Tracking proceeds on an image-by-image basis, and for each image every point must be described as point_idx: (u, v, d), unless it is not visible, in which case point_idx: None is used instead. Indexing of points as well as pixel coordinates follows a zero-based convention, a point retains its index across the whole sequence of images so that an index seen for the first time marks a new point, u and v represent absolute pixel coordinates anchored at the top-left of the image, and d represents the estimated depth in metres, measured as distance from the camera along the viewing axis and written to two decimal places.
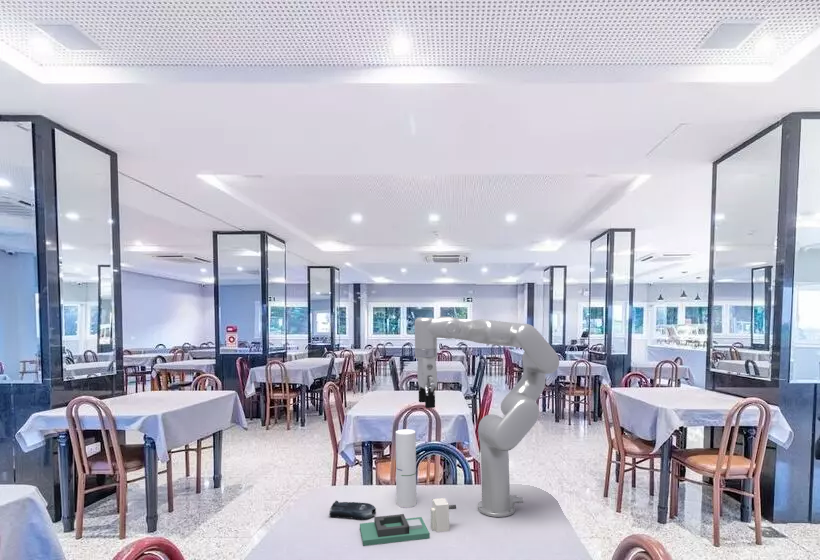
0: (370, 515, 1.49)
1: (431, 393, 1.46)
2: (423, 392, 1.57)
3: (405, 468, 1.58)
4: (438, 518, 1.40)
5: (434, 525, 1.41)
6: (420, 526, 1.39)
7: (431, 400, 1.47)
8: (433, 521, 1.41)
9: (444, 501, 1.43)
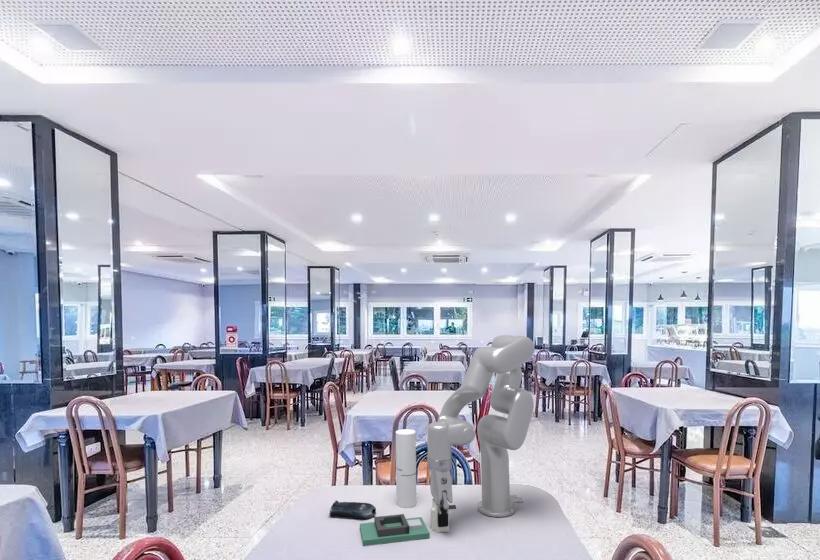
0: (370, 515, 1.49)
1: (444, 512, 1.38)
2: None
3: (405, 468, 1.58)
4: None
5: (434, 525, 1.41)
6: (420, 526, 1.39)
7: (444, 519, 1.39)
8: (433, 521, 1.41)
9: None
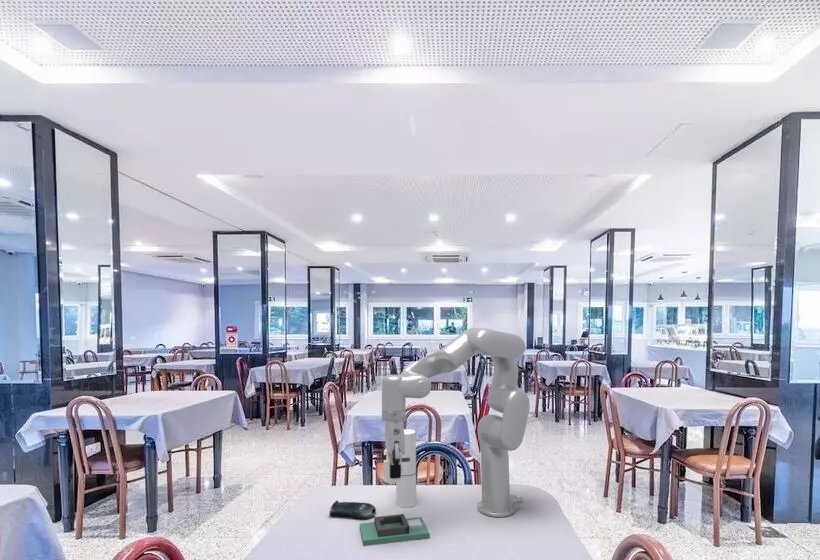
0: (370, 515, 1.49)
1: (396, 463, 1.36)
2: None
3: (405, 468, 1.58)
4: None
5: (386, 477, 1.39)
6: (420, 526, 1.39)
7: (396, 470, 1.37)
8: (386, 472, 1.39)
9: None
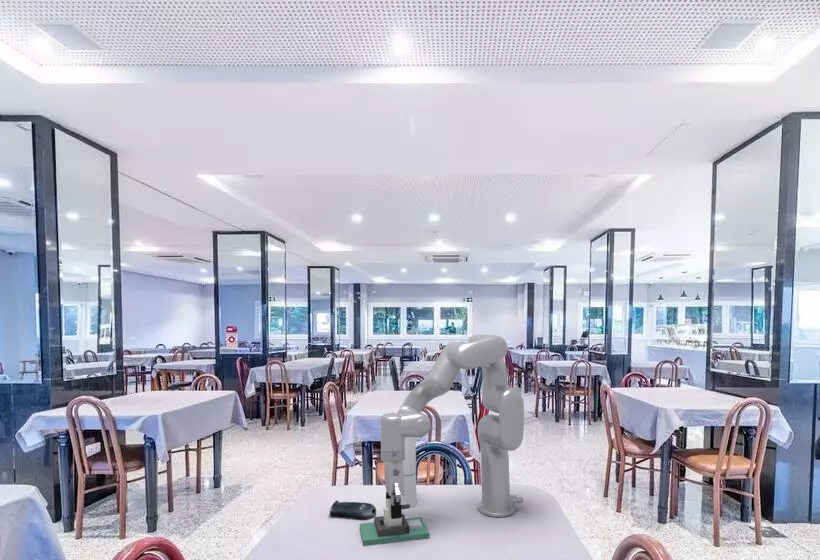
0: (370, 515, 1.49)
1: (397, 503, 1.33)
2: None
3: (405, 468, 1.58)
4: (390, 518, 1.37)
5: (387, 525, 1.38)
6: (420, 526, 1.39)
7: (397, 510, 1.34)
8: (386, 521, 1.38)
9: None
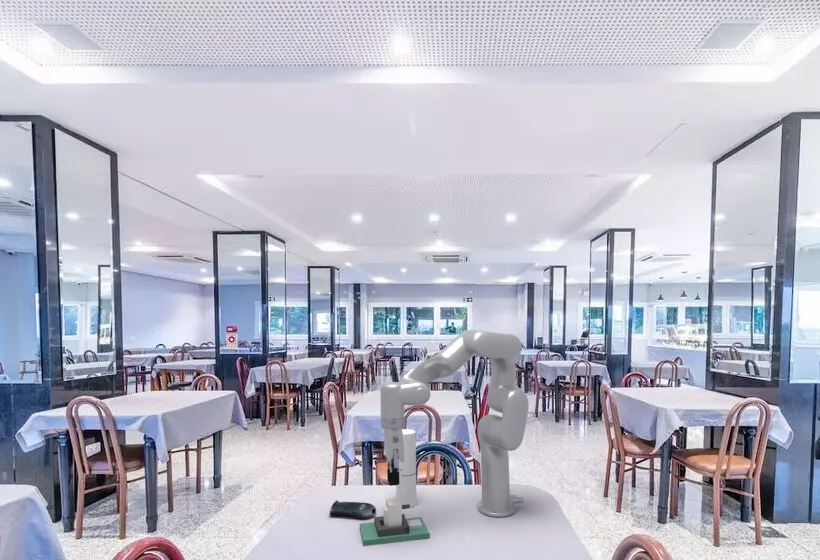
0: (370, 515, 1.49)
1: (395, 470, 1.37)
2: None
3: (405, 468, 1.58)
4: (390, 518, 1.37)
5: (387, 525, 1.38)
6: (420, 526, 1.39)
7: (395, 477, 1.38)
8: (386, 521, 1.38)
9: (397, 501, 1.40)
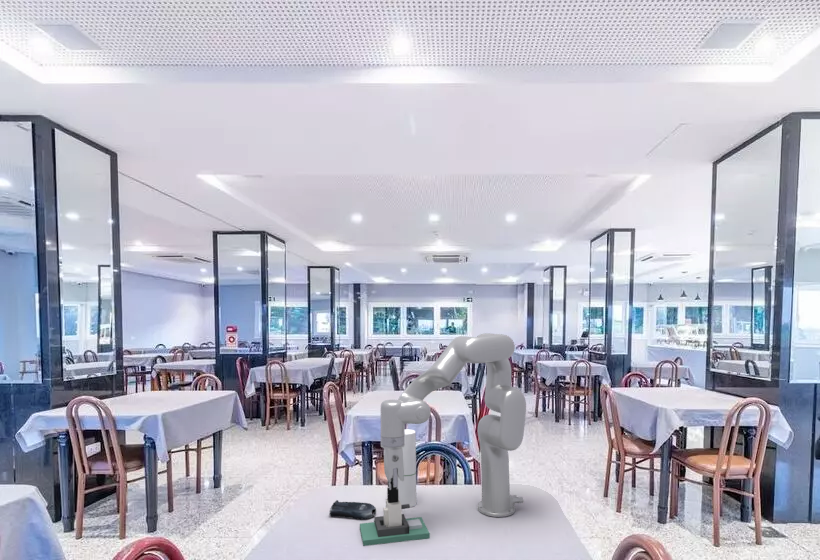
0: (370, 515, 1.49)
1: (394, 488, 1.38)
2: None
3: (405, 468, 1.58)
4: (390, 518, 1.37)
5: (387, 525, 1.38)
6: (420, 526, 1.39)
7: (394, 495, 1.38)
8: (386, 521, 1.38)
9: None
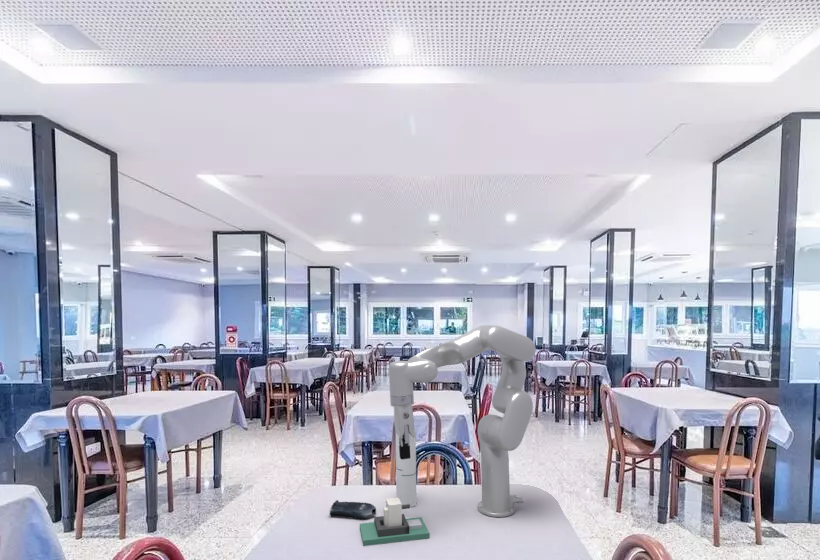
0: (370, 515, 1.49)
1: (406, 444, 1.42)
2: None
3: (405, 468, 1.58)
4: (390, 518, 1.37)
5: (387, 525, 1.38)
6: (420, 526, 1.39)
7: (406, 451, 1.43)
8: (386, 521, 1.38)
9: (397, 501, 1.40)
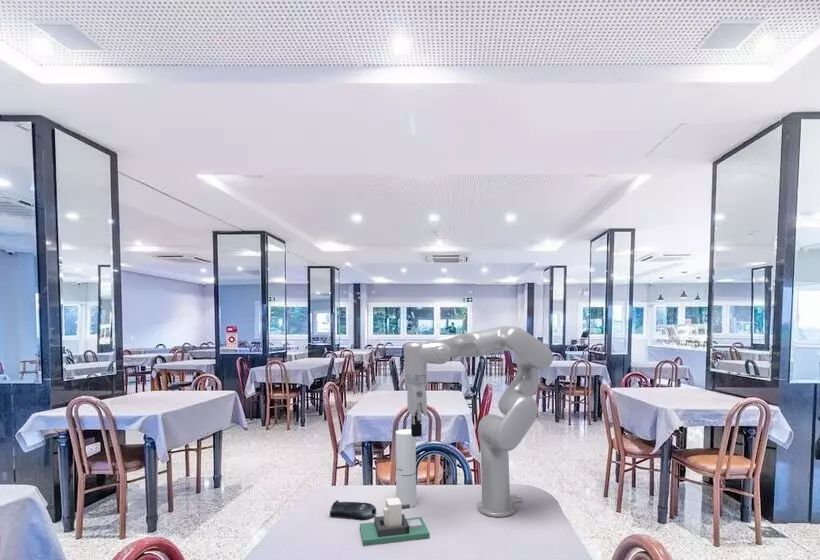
0: (370, 515, 1.49)
1: (418, 422, 1.47)
2: None
3: (405, 468, 1.58)
4: (390, 518, 1.37)
5: (387, 525, 1.38)
6: (420, 526, 1.39)
7: (418, 429, 1.48)
8: (386, 521, 1.38)
9: (397, 501, 1.40)
